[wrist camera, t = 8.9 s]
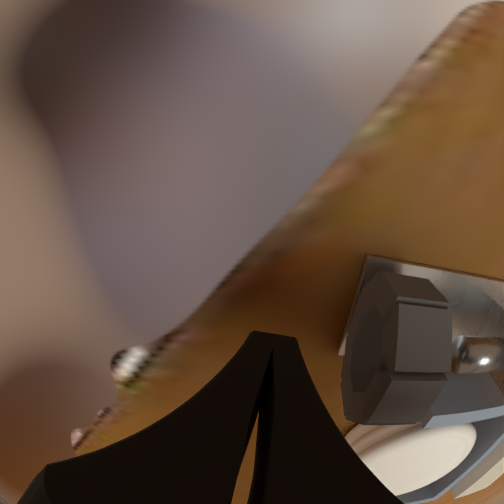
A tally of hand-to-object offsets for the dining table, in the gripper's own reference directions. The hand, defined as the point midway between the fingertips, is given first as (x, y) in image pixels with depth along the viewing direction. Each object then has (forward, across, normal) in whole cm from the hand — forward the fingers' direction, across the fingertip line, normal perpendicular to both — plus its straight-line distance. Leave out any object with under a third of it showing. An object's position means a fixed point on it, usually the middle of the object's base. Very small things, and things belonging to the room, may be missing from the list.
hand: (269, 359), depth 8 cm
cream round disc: (+5, -11, +10) cm, 16 cm away
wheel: (+4, -4, 0) cm, 6 cm away
